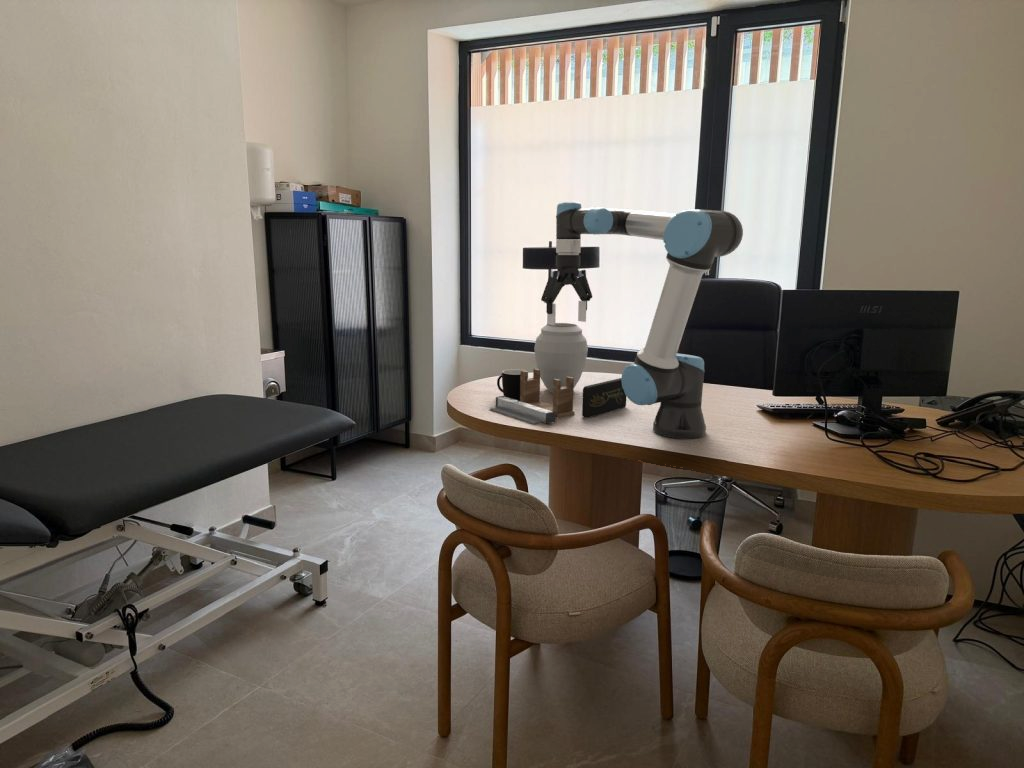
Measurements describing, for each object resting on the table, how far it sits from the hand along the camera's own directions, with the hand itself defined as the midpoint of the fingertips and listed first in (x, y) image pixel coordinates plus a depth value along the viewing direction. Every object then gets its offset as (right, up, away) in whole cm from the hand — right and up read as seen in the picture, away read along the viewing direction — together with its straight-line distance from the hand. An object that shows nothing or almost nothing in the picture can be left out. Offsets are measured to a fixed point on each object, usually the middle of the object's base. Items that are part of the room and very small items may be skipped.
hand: (567, 323), depth 218 cm
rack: (-6, -28, +9) cm, 30 cm away
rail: (-13, -29, +2) cm, 32 cm away
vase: (0, -22, +37) cm, 43 cm away
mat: (-14, -29, +3) cm, 32 cm away
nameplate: (+13, -29, +8) cm, 32 cm away
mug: (-18, -25, +22) cm, 38 cm away
